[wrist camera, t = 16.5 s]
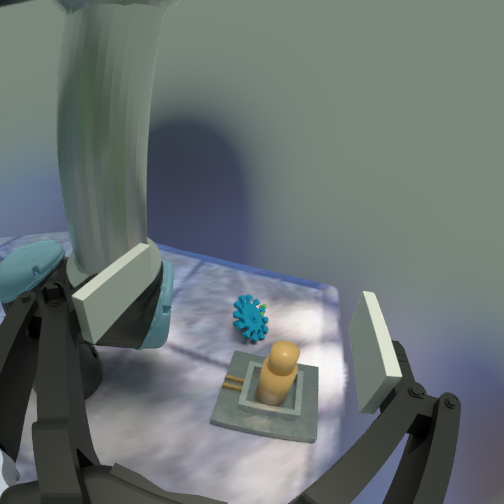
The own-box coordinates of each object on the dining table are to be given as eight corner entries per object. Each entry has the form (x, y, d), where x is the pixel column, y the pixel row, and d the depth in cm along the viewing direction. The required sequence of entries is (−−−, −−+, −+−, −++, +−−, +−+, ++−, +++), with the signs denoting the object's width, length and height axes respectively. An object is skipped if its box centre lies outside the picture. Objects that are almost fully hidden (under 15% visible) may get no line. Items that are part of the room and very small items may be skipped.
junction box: (210, 423, 35) (211, 414, 33) (234, 355, 49) (235, 344, 48) (313, 443, 33) (319, 435, 32) (316, 372, 47) (320, 361, 46)
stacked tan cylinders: (253, 401, 38) (265, 359, 34) (258, 378, 43) (270, 334, 39) (285, 407, 38) (303, 366, 33) (288, 384, 42) (304, 341, 38)
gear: (253, 348, 50) (230, 301, 51) (231, 353, 53) (209, 310, 54) (278, 326, 59) (259, 286, 60) (258, 333, 62) (240, 295, 63)
